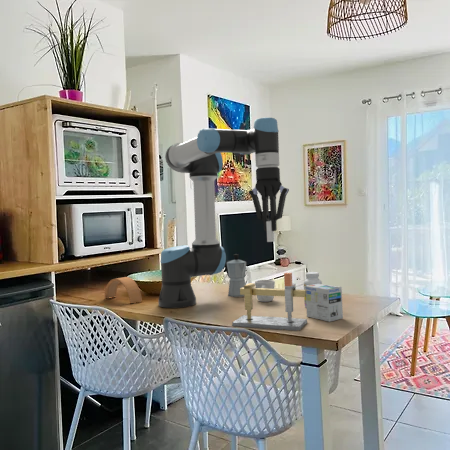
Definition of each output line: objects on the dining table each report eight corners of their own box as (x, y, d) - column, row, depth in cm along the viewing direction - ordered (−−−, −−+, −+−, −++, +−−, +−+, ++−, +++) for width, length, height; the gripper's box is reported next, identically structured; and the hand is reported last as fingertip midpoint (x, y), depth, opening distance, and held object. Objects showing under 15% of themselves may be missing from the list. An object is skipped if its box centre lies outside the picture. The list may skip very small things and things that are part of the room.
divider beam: (238, 319, 151) (236, 285, 151) (243, 315, 156) (242, 282, 155) (303, 323, 142) (302, 287, 142) (307, 319, 147) (306, 284, 146)
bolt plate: (232, 326, 148) (232, 322, 148) (243, 318, 157) (243, 315, 157) (299, 330, 139) (299, 326, 139) (307, 322, 148) (306, 318, 148)
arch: (130, 304, 190) (129, 280, 190) (104, 299, 204) (103, 277, 204) (142, 302, 194) (141, 278, 194) (115, 297, 208) (114, 275, 208)
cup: (273, 304, 178) (273, 283, 178) (253, 304, 180) (252, 284, 179) (276, 298, 189) (275, 279, 188) (257, 298, 190) (256, 279, 190)
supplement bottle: (326, 306, 170) (325, 272, 170) (316, 309, 166) (315, 274, 165) (311, 304, 175) (309, 271, 175) (301, 307, 170) (299, 273, 170)
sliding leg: (285, 321, 145) (284, 273, 144) (290, 317, 150) (289, 270, 149) (292, 321, 144) (290, 273, 143) (296, 317, 149) (295, 271, 148)
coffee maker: (254, 295, 197) (253, 254, 197) (238, 298, 192) (236, 255, 192) (234, 291, 210) (232, 252, 209) (218, 294, 205) (216, 253, 204)
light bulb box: (343, 318, 151) (342, 286, 151) (329, 322, 147) (328, 289, 147) (319, 313, 160) (318, 282, 160) (305, 316, 156) (304, 285, 156)
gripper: (244, 168, 145) (247, 242, 145) (283, 164, 139) (287, 242, 140) (252, 169, 152) (255, 240, 152) (290, 166, 146) (293, 240, 147)
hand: (270, 241), depth 146 cm, fingers closed
